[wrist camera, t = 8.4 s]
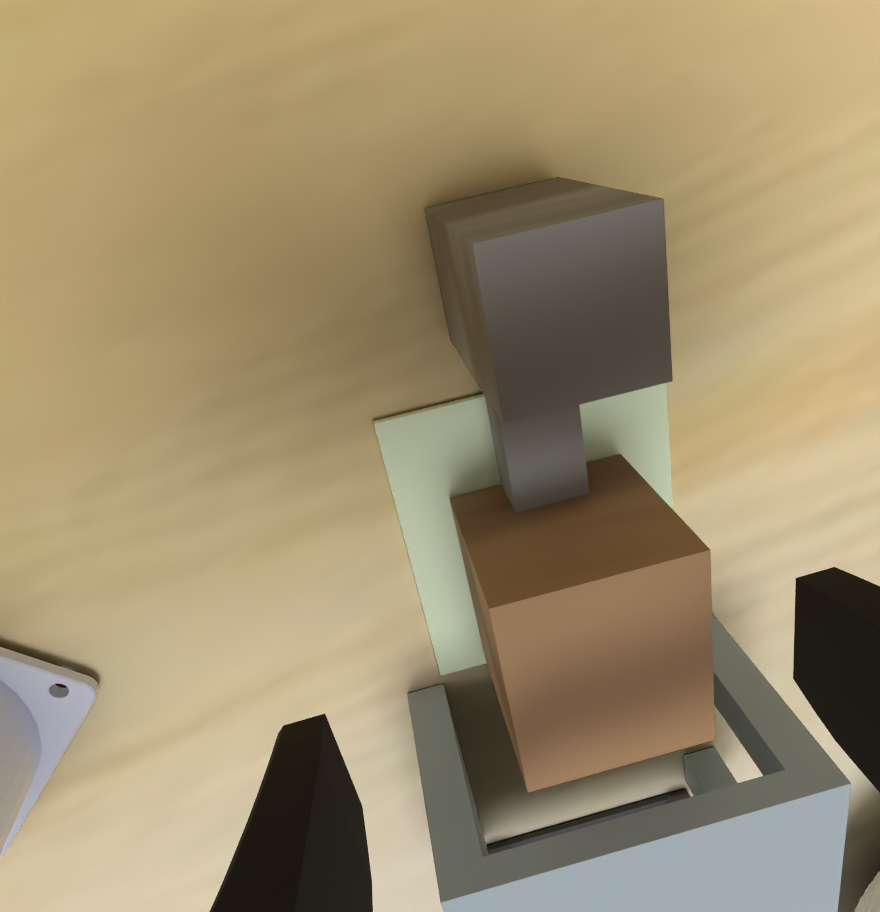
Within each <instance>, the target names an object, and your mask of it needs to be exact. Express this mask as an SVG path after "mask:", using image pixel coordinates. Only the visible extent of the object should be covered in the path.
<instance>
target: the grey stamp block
mask: <svg viewBox="0 0 880 912" xmlns="http://www.w3.org/2000/svg"><path fill="white" fill-rule="evenodd" d="M424 209H425V214H426V219H427V224H428V229H429V234H430V239H431V244H432V249H433V254H434V259H435V264H436V269H437V274H438V279H439V284H440V289H441V294H442V299H443V304H444V309H445V314H446V319H447V324H448V329H449V334H450V339H451V342H452V343H453V345H454V346H455V348H456V349H457V351H458V353H459V354H460V356H461V357H462V359H463V361H464V362H465V364H466V365H467V367H468V369H469V370H470V372H471V373H472V375H473V376H474V378H475V380H476V381H477V383H478V384H479V386H480V388H481V389H482V391H483V392H484V394H485V399H486V404H487V410H488V415H489V421H490V426H491V432H492V437H493V443H494V448H495V454H496V459H497V465H498V470H499V476H500V481H501V484H500V485H496V486H493V487H489V488H485V489H481V490H477V491H473V492H469V493H465V494H461V495H458V496H454V497H450V498H449V499H450V504H451V508H452V513H453V517H454V522H455V526H456V530H457V535H458V539H459V544H460V548H461V553H462V557H463V562H464V566H465V571H466V575H467V580H468V584H469V588H470V593H471V597H472V602H473V606H474V611H475V615H476V620H477V624H478V629H479V633H480V638H481V642H482V647H483V651H484V655H485V659H486V662H487V666H488V669H489V672H490V675H491V678H492V681H493V685H494V688H495V691H496V694H497V697H498V700H499V703H500V707H501V710H502V713H503V716H504V719H505V722H506V725H507V729H508V732H509V735H510V738H511V741H512V744H513V748H514V751H515V754H516V757H517V760H518V763H519V766H520V770H521V773H522V776H523V779H524V782H525V785H526V789H527V792H528V793H529V792H532V791H536V790H539V789H543V788H547V787H550V786H554V785H557V784H561V783H564V782H568V781H571V780H575V779H578V778H582V777H585V776H589V775H592V774H596V773H599V772H603V771H606V770H610V769H614V768H617V767H621V766H624V765H628V764H631V763H635V762H638V761H642V760H645V759H649V758H652V757H656V756H659V755H663V754H666V753H670V752H674V751H677V750H681V749H684V748H688V747H691V746H695V745H698V744H702V743H705V742H709V741H712V740H715V718H714V678H713V639H712V600H711V560H710V549H709V548H708V547H707V546H706V545H705V544H704V543H703V542H702V541H701V539H700V538H699V537H698V536H697V535H696V534H695V533H694V532H693V531H692V530H691V529H690V528H689V527H688V525H687V524H686V523H685V522H684V521H683V520H682V519H681V518H680V517H679V516H678V515H677V514H676V513H675V512H674V510H673V509H672V508H671V507H670V506H669V505H668V504H667V503H666V502H665V501H664V500H663V499H662V498H661V497H660V495H659V494H658V493H657V492H656V491H655V490H654V489H653V488H652V487H651V486H650V485H649V484H648V483H647V482H646V480H645V479H644V478H643V477H642V476H641V475H640V474H639V473H638V472H637V471H636V470H635V469H634V468H633V467H632V465H631V464H630V463H629V462H628V461H627V460H626V459H625V458H624V457H623V456H622V455H621V454H617V455H613V456H609V457H605V458H601V459H598V460H594V461H590V462H586V458H585V450H584V441H583V432H582V424H581V415H580V407H579V405H580V404H584V403H588V402H592V401H596V400H600V399H604V398H608V397H612V396H616V395H620V394H624V393H628V392H632V391H636V390H640V389H644V388H648V387H652V386H655V385H659V384H663V383H667V382H671V381H672V362H671V342H670V321H669V301H668V280H667V260H666V239H665V219H664V199H662V198H657V197H652V196H647V195H642V194H638V193H633V192H628V191H623V190H618V189H613V188H608V187H603V186H598V185H593V184H589V183H584V182H579V181H574V180H569V179H564V178H559V177H557V178H552V179H548V180H544V181H540V182H535V183H531V184H527V185H522V186H518V187H514V188H509V189H505V190H501V191H497V192H492V193H488V194H484V195H479V196H475V197H471V198H466V199H462V200H458V201H453V202H449V203H445V204H441V205H436V206H432V207H428V208H424Z"/></svg>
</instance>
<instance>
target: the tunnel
mask: <svg viewBox="0 0 880 912" xmlns="http://www.w3.org/2000/svg"><path fill="white" fill-rule="evenodd" d="M712 639H713V678H714V705H715V706H716V707H717V709H718V710H719V712H720V713H721V715H722V716H723V718H724V719H725V720H726V722H727V723H728V725H729V726H730V728H731V729H732V731H733V732H734V734H735V735H736V736H737V738H738V739H739V741H740V742H741V744H742V745H743V747H744V748H745V749H746V751H747V752H748V754H749V755H750V757H751V758H752V760H753V761H754V763H755V764H756V765H757V767H758V768H759V770H760V771H761V773H762V774H763V776H762V777H758V778H755V779H752V780H748V781H745V782H741V783H737V782H736V780H735V778H734V777H733V775H732V774H731V772H730V771H729V769H728V767H727V766H726V764H725V763H724V761H723V760H722V758H721V757H720V755H719V753H718V752H717V750H716V749H715V747H711V748H708V749H704V750H701V751H697V752H694V753H690V754H687V755H684V767H685V781H686V782H687V784H688V786H689V788H690V789H691V791H692V793H693V795H694V796H692V797H689V798H686V799H682V800H679V801H675V802H672V803H668V804H665V805H661V806H658V807H654V808H651V809H647V810H644V811H640V812H637V813H633V814H630V815H626V816H623V817H619V818H616V819H613V820H609V821H606V822H602V823H599V824H595V825H592V826H588V827H585V828H581V829H578V830H574V831H571V832H567V833H564V834H560V835H557V836H553V837H550V838H547V839H543V840H540V841H536V842H533V843H529V844H526V845H522V846H519V847H515V848H512V849H508V850H505V851H501V852H498V853H494V854H491V855H488V852H487V848H486V844H485V839H484V835H483V832H482V828H481V824H480V820H479V817H478V813H477V809H476V805H475V802H474V798H473V794H472V790H471V787H470V783H469V779H468V775H467V772H466V768H465V764H464V760H463V757H462V753H461V749H460V745H459V742H458V738H457V734H456V730H455V727H454V723H453V719H452V715H451V712H450V708H449V704H448V700H447V697H446V693H445V689H444V685H443V684H441V685H437V686H433V687H430V688H426V689H422V690H419V691H415V692H411V693H408V694H407V695H408V701H409V707H410V713H411V720H412V726H413V732H414V738H415V745H416V751H417V757H418V764H419V770H420V776H421V782H422V789H423V795H424V801H425V807H426V814H427V820H428V826H429V832H430V839H431V845H432V851H433V857H434V864H435V870H436V876H437V882H438V889H439V895H440V901H441V905H442V908H443V911H444V912H838V902H839V893H840V884H841V874H842V865H843V856H844V846H845V837H846V827H847V818H848V809H849V799H850V790H851V783H850V781H849V780H848V779H847V778H846V776H845V775H844V774H843V773H842V772H841V770H840V769H839V768H838V767H837V765H836V764H835V763H834V762H833V761H832V759H831V758H830V757H829V756H828V754H827V753H826V752H825V751H824V749H823V748H822V747H821V746H820V745H819V743H818V742H817V741H816V740H815V738H814V737H813V736H812V735H811V734H810V732H809V731H808V730H807V729H806V727H805V726H804V725H803V724H802V722H801V721H800V720H799V719H798V718H797V716H796V715H795V714H794V713H793V711H792V710H791V709H790V708H789V707H788V705H787V704H786V703H785V702H784V700H783V699H782V698H781V697H780V696H779V694H778V693H777V692H776V691H775V689H774V688H773V687H772V686H771V684H770V683H769V682H768V681H767V680H766V678H765V677H764V676H763V675H762V673H761V672H760V671H759V670H758V669H757V667H756V666H755V665H754V664H753V662H752V661H751V660H750V659H749V657H748V656H747V655H746V654H745V653H744V651H743V650H742V649H741V648H740V646H739V645H738V644H737V643H736V642H735V640H734V639H733V638H732V637H731V635H730V634H729V633H728V632H727V630H726V629H725V628H724V627H723V626H722V624H721V623H720V622H719V621H718V619H717V618H716V617H715V616H714V615H713V613H712Z"/></svg>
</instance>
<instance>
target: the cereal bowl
mask: <svg viewBox="0 0 880 912" xmlns="http://www.w3.org/2000/svg"><path fill="white" fill-rule="evenodd" d="M854 912H880V871H879V872H878V873H877V875H876V876H875V878H874V880H873V881H872V882H871V883H870V884H869V885H868V887H867V889H866V890H865V892H864V895H863V896H862V897H861V898H860V900H859V903H858V905H857V907H856V908H855V911H854Z"/></svg>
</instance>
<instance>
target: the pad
mask: <svg viewBox="0 0 880 912" xmlns="http://www.w3.org/2000/svg"><path fill="white" fill-rule="evenodd" d="M579 407H580V415H581V424H582V432H583V441H584V450H585V458H586V462H590V461H594V460H598V459H601V458H605V457H609V456H613V455H617V454H621V455H622V456H623V457H624V458H625V459H626V460H627V461H628V462H629V463H630V464H631V465H632V467H633V468H634V469H635V470H636V471H637V472H638V473H639V474H640V475H641V476H642V477H643V478H644V479H645V480H646V482H647V483H648V484H649V485H650V486H651V487H652V488H653V489H654V490H655V491H656V492H657V493H658V494H659V495H660V497H661V498H662V499H663V500H664V501H665V502H666V503H667V504H668V505H669V506H670V507H671V508H672V509H673V499H672V480H671V461H670V442H669V424H668V405H667V386H666V383H663V384H659V385H655V386H652V387H648V388H644V389H640V390H636V391H632V392H628V393H624V394H620V395H616V396H612V397H608V398H604V399H600V400H596V401H592V402H588V403H584V404H580V405H579ZM373 423H374V427H375V431H376V435H377V438H378V442H379V446H380V450H381V453H382V457H383V461H384V465H385V468H386V472H387V476H388V480H389V483H390V487H391V491H392V495H393V498H394V502H395V506H396V510H397V513H398V517H399V521H400V525H401V528H402V532H403V536H404V540H405V543H406V547H407V551H408V555H409V558H410V562H411V566H412V570H413V573H414V577H415V581H416V585H417V588H418V592H419V596H420V600H421V603H422V607H423V611H424V615H425V618H426V622H427V626H428V630H429V633H430V637H431V641H432V645H433V648H434V652H435V656H436V660H437V663H438V667H439V671H440V675H441V676H442V675H446V674H449V673H453V672H457V671H460V670H464V669H468V668H471V667H475V666H479V665H482V664H486V663H487V662H486V659H485V655H484V651H483V647H482V642H481V638H480V633H479V629H478V624H477V620H476V615H475V611H474V606H473V602H472V597H471V593H470V588H469V584H468V580H467V575H466V571H465V566H464V562H463V557H462V553H461V548H460V544H459V539H458V535H457V530H456V526H455V522H454V517H453V513H452V508H451V504H450V499H449V498H450V497H454V496H458V495H461V494H465V493H469V492H473V491H477V490H481V489H485V488H489V487H493V486H496V485H500V484H501V481H500V476H499V470H498V465H497V459H496V454H495V448H494V443H493V437H492V432H491V426H490V421H489V415H488V410H487V404H486V399H485V394H480V395H476V396H472V397H468V398H464V399H460V400H456V401H452V402H448V403H444V404H440V405H436V406H432V407H428V408H424V409H420V410H416V411H412V412H408V413H404V414H400V415H396V416H392V417H388V418H383V419H379V420H375V421H373Z"/></svg>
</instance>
